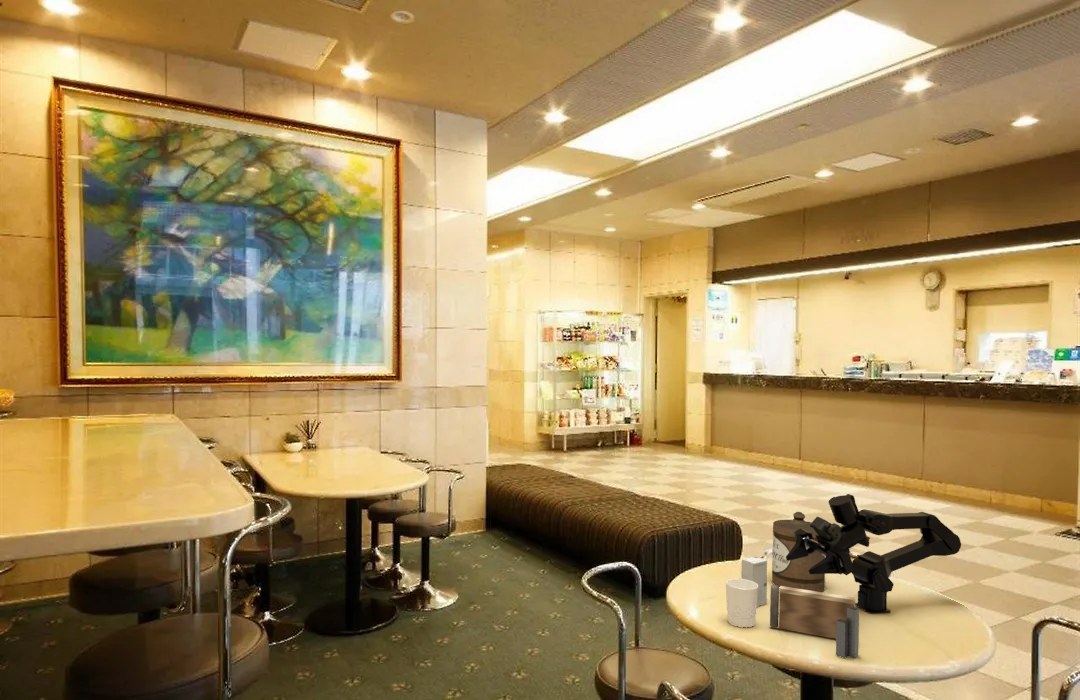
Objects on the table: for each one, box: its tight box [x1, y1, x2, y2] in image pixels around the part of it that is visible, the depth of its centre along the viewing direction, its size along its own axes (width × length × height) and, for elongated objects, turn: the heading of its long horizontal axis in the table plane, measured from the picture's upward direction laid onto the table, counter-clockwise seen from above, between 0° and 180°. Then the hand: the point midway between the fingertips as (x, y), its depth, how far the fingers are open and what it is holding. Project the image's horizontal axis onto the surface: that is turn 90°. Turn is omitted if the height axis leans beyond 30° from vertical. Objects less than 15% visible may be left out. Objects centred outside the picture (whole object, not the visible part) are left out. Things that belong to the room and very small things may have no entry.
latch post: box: [835, 606, 860, 659], centre depth 151 cm, size 4×4×11 cm
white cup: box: [725, 578, 758, 629], centre depth 169 cm, size 8×8×10 cm
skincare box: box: [740, 556, 768, 607], centre depth 183 cm, size 6×4×12 cm
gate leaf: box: [769, 584, 856, 639], centre depth 163 cm, size 19×2×10 cm, turn 66°
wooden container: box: [771, 511, 826, 593], centre depth 198 cm, size 15×15×22 cm
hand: (797, 565), depth 175 cm, fingers open, 9 cm apart
